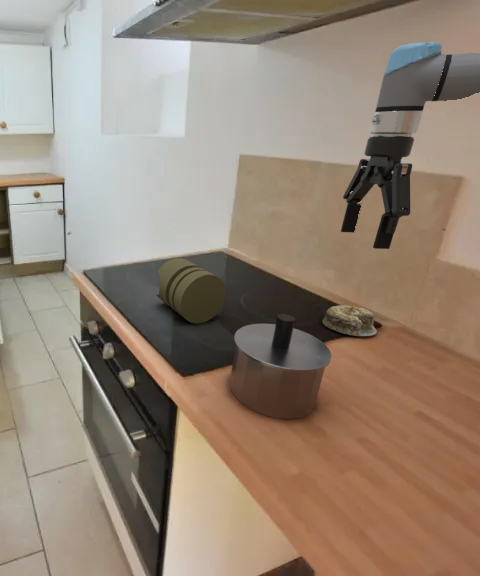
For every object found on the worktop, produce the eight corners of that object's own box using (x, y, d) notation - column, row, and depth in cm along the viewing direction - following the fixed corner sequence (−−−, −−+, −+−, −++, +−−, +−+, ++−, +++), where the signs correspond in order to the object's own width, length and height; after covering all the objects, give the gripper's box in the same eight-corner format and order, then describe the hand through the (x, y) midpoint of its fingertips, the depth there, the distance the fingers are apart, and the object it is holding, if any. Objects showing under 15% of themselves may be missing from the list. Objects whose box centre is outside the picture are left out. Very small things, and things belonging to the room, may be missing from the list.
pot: (299, 373, 66) (309, 330, 62) (326, 423, 54) (341, 374, 51) (225, 367, 68) (231, 324, 64) (236, 414, 56) (245, 365, 53)
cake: (314, 328, 82) (317, 305, 80) (331, 315, 88) (334, 293, 86) (368, 342, 75) (373, 317, 73) (383, 327, 81) (387, 304, 79)
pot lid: (311, 332, 63) (318, 302, 61) (345, 380, 51) (356, 344, 49) (227, 326, 65) (231, 296, 63) (241, 371, 53) (247, 336, 51)
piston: (192, 298, 95) (196, 255, 91) (222, 319, 85) (229, 271, 81) (152, 305, 92) (155, 260, 88) (178, 327, 81) (183, 278, 77)
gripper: (341, 135, 87) (320, 226, 95) (412, 136, 64) (377, 256, 72) (376, 135, 86) (352, 226, 94) (460, 136, 63) (419, 257, 71)
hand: (362, 239), depth 83 cm, fingers open, 13 cm apart
